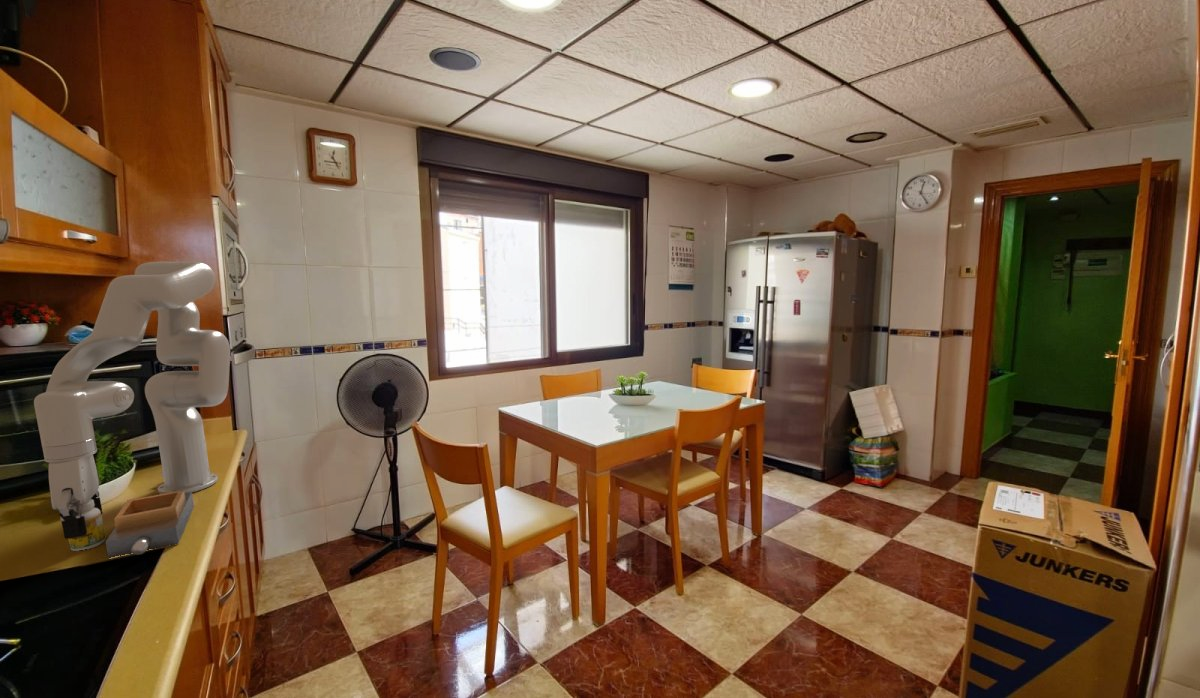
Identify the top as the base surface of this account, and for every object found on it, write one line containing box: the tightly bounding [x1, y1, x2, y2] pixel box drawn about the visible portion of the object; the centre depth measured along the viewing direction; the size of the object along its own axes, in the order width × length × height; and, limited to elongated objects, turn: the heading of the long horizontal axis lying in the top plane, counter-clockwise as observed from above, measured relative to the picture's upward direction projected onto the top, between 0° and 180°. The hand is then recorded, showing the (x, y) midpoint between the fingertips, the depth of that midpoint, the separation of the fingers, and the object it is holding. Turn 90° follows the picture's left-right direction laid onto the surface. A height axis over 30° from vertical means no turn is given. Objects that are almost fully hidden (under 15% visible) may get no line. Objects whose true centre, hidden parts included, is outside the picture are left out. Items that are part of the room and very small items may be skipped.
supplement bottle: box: [67, 499, 107, 552], centre depth 106 cm, size 5×5×10 cm
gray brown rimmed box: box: [105, 490, 195, 558], centre depth 111 cm, size 23×11×6 cm, turn 31°
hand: (84, 526), depth 106 cm, fingers open, 9 cm apart
